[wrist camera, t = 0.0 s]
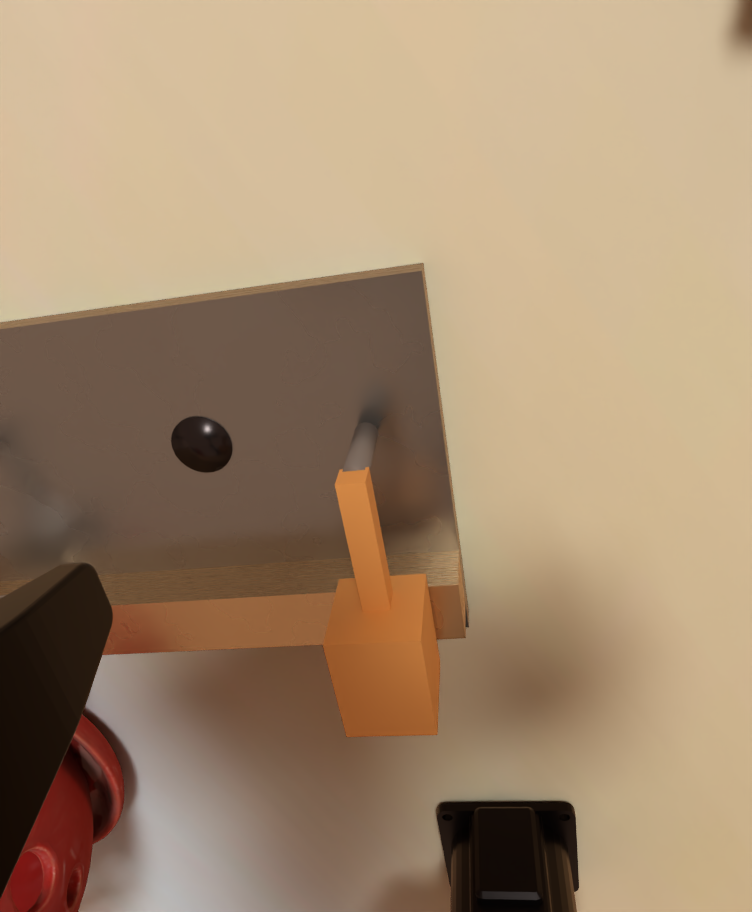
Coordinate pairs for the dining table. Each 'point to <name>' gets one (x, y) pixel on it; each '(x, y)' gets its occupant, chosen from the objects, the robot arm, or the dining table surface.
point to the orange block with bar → (379, 621)
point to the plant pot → (68, 827)
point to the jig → (227, 456)
